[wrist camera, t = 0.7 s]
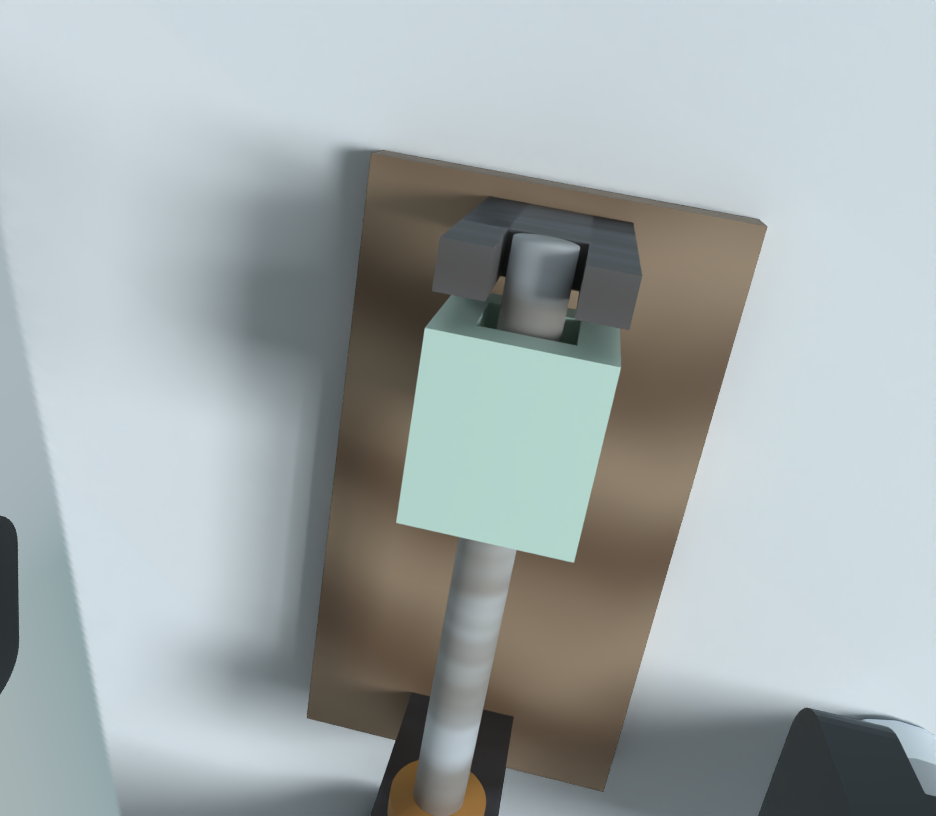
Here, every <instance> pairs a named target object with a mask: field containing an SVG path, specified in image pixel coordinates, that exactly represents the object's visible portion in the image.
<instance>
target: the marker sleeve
mask: <svg viewBox="0 0 936 816" xmlns="http://www.w3.org/2000/svg"><path fill="white" fill-rule="evenodd" d="M501 301H502V295H500V294H495V293H490V294H489V296H488V297H487V299H486V301H485V302H484V301H479V300H474V299H469V298H464V297H459V296H454V295H451V296H450V297H449V298H448V300H447V301H446V302H445V303H444V305H443V306H442V307H441V308H440V310H439V311H438V312H437V313H436V315H435V316H434V317H433V318H432V320H431V321H430V322H429V323H428V325H427V326H426V327H425V330H424V337H423V344H422V351H421V358H420V364H419V371H418V378H417V385H416V391H415V398H414V405H413V412H412V419H411V425H410V432H409V439H408V446H407V453H406V459H405V466H404V473H403V480H402V486H401V493H400V500H399V507H398V514H397V520H396V523H399V524H404V525H408V526H412V527H417V528H421V529H426V530H430V531H435V532H439V533H444V534H448V535H453V536H457V537H461V538H466V539H470V540H475V541H479V542H484V543H488V544H493V545H497V546H501V547H506V548H510V549H515V550H519V551H524V552H528V553H533V554H537V555H542V556H546V557H550V558H555V559H559V560H564V561H568V562H573V563H574V561H575V556H576V552H577V548H578V544H579V540H580V536H581V532H582V527H583V523H584V519H585V515H586V511H587V507H588V503H589V498H590V494H591V490H592V486H593V482H594V478H595V474H596V469H597V465H598V461H599V457H600V453H601V449H602V445H603V440H604V436H605V432H606V428H607V424H608V420H609V416H610V411H611V407H612V403H613V399H614V395H615V391H616V386H617V382H618V378H619V374H620V370H621V350H620V328H615V327H610V326H605V325H600V324H595V323H590V322H585V321H580V320H575V314H576V309H571V308H567V313H566V318H565V322H564V327H563V332H562V337H561V341H560V342H556V341H551V340H546V339H541V338H536V337H531V336H526V335H521V334H516V333H511V332H506V331H501V330H496V328H497V323H498V317H499V312H500V306H501Z"/></svg>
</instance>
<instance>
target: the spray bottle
mask: <svg viewBox="0 0 936 816" xmlns="http://www.w3.org/2000/svg"><path fill="white" fill-rule="evenodd" d="M861 721H866V722H870V723H874V724H878V725H883V726H887V727H889V728H891V729H892V730H893V731H894V732H895V733H896V735H897V737H898V738H899V740H900V742H901V744H902V746H903V749H904V751H905V753H906V755H907V757H908V759H909V761H910V763H911V765H912V767H913V769H914V771H915V774H916V776H917V778H918V780H919V782H920V784H921V786H922V788H923V790H924V792H925V794H928V795H933V796H936V736H934V735H933V734H931V733H930V732H928V731H926V730H925V729H922V728H919V727H916V726H913V725H910V724H906V723H903V722H900V721H896V720H878V719H864V720H861Z"/></svg>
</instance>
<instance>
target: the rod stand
mask: <svg viewBox="0 0 936 816" xmlns="http://www.w3.org/2000/svg"><path fill="white" fill-rule="evenodd" d="M766 230H767V226H766V225H765V224H764V223H763V222H762V221H760V220H759V219H754V218H749V217H743V216H738V215H732V214H727V213H722V212H716V211H711V210H705V209H700V208H694V207H689V206H684V205H678V204H673V203H667V202H662V201H656V200H651V199H645V198H640V197H635V196H629V195H624V194H618V193H613V192H607V191H602V190H597V189H591V188H586V187H580V186H575V185H569V184H564V183H559V182H553V181H548V180H542V179H537V178H531V177H526V176H520V175H515V174H510V173H504V172H499V171H493V170H488V169H482V168H477V167H472V166H466V165H461V164H455V163H450V162H444V161H439V160H434V159H428V158H423V157H417V156H412V155H406V154H401V153H395V152H390V151H385V150H382V151H378V152H374V153H371V158H370V167H369V176H368V184H367V193H366V202H365V211H364V219H363V228H362V237H361V246H360V255H359V263H358V272H357V281H356V290H355V299H354V307H353V316H352V325H351V334H350V342H349V351H348V360H347V369H346V378H345V386H344V395H343V404H342V413H341V422H340V430H339V439H338V448H337V457H336V465H335V474H334V483H333V492H332V501H331V509H330V518H329V527H328V536H327V545H326V553H325V562H324V571H323V580H322V588H321V597H320V606H319V615H318V624H317V632H316V641H315V650H314V659H313V668H312V676H311V685H310V694H309V703H308V711H307V718H309V719H313V720H317V721H321V722H325V723H329V724H333V725H337V726H341V727H345V728H349V729H353V730H357V731H361V732H365V733H369V734H373V735H377V736H381V737H385V738H389V739H393V740H396V741H395V744H394V747H393V750H392V753H391V756H390V759H389V762H388V765H387V768H386V771H385V774H384V777H383V780H382V783H381V786H380V789H379V792H378V795H377V798H376V801H375V804H374V807H373V810H372V813H371V816H498V813H499V807H500V801H501V794H502V788H503V782H504V775H505V769H506V768H510V769H514V770H518V771H522V772H526V773H530V774H534V775H538V776H542V777H546V778H550V779H554V780H558V781H562V782H566V783H570V784H574V785H578V786H582V787H586V788H590V789H594V790H598V791H602V792H604V788H605V785H606V781H607V778H608V774H609V771H610V767H611V764H612V760H613V757H614V754H615V750H616V747H617V743H618V740H619V736H620V733H621V729H622V726H623V723H624V719H625V716H626V712H627V709H628V705H629V702H630V698H631V695H632V692H633V688H634V685H635V681H636V678H637V674H638V671H639V667H640V664H641V661H642V657H643V654H644V650H645V647H646V643H647V640H648V636H649V633H650V630H651V626H652V623H653V619H654V616H655V612H656V609H657V605H658V602H659V598H660V595H661V592H662V588H663V585H664V581H665V578H666V574H667V571H668V567H669V564H670V561H671V557H672V554H673V550H674V547H675V543H676V540H677V536H678V533H679V530H680V526H681V523H682V519H683V516H684V512H685V509H686V505H687V502H688V499H689V495H690V492H691V488H692V485H693V481H694V478H695V474H696V471H697V468H698V464H699V461H700V457H701V454H702V450H703V447H704V443H705V440H706V436H707V433H708V430H709V426H710V423H711V419H712V416H713V412H714V409H715V405H716V402H717V399H718V395H719V392H720V388H721V385H722V381H723V378H724V374H725V371H726V368H727V364H728V361H729V357H730V354H731V350H732V347H733V343H734V340H735V337H736V333H737V330H738V326H739V323H740V319H741V316H742V312H743V309H744V306H745V302H746V299H747V295H748V292H749V288H750V285H751V281H752V278H753V274H754V271H755V268H756V264H757V261H758V257H759V254H760V250H761V247H762V243H763V240H764V237H765V233H766ZM490 293H495V294H500V295H502V301H501V306H500V312H499V317H498V323H497V328H496V330H501V331H506V332H511V333H516V334H521V335H526V336H531V337H536V338H541V339H546V340H551V341H556V342H560V341H561V337H562V332H563V327H564V322H565V318H566V313H567V308H571V309H576V314H575V320H580V321H585V322H590V323H595V324H600V325H605V326H610V327H615V328H620V350H621V370H620V374H619V378H618V382H617V386H616V391H615V395H614V399H613V403H612V407H611V411H610V416H609V420H608V424H607V428H606V432H605V436H604V440H603V445H602V449H601V453H600V457H599V461H598V465H597V469H596V474H595V478H594V482H593V486H592V490H591V494H590V498H589V503H588V507H587V511H586V515H585V519H584V523H583V527H582V532H581V536H580V540H579V544H578V548H577V552H576V556H575V561H574V563H573V562H568V561H564V560H559V559H555V558H550V557H546V556H542V555H537V554H533V553H528V552H524V551H519V550H515V549H510V548H506V547H501V546H497V545H493V544H488V543H484V542H479V541H475V540H470V539H466V538H461V537H457V536H453V535H448V534H444V533H439V532H435V531H430V530H426V529H421V528H417V527H412V526H408V525H404V524H399V523H396V520H397V514H398V507H399V500H400V493H401V486H402V480H403V473H404V466H405V459H406V453H407V446H408V439H409V432H410V425H411V419H412V412H413V405H414V398H415V391H416V385H417V378H418V371H419V364H420V358H421V351H422V344H423V337H424V330H425V327H426V326H427V325H428V323H429V322H430V321H431V320H432V318H433V317H434V316H435V315H436V313H437V312H438V311H439V310H440V308H441V307H442V306H443V305H444V303H445V302H446V301H447V300H448V298H449V297H450V296H451V295H454V296H459V297H464V298H469V299H474V300H479V301H484V302H485V301H486V299H487V297H488V296H489V294H490Z"/></svg>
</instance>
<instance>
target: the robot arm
mask: <svg viewBox="0 0 936 816" xmlns="http://www.w3.org/2000/svg"><path fill="white" fill-rule="evenodd" d="M18 606H19V605H18V542H17V533H16V529H15V527H14V525H13V523H12V522H11V521H10V520H9V519H7V518H6V517H3V516H0V694H1V692H2V691H3V689H4V687H5V686H6V684H7V682H8V680H9V678H10V676H11V673H12V671H13V668H14V666H15V662H16V658H17V655H18V648H19V611H18V610H19V607H18ZM758 816H936V796H933V795H928V794H925V792H924V790H923V788H922V786H921V784H920V782H919V780H918V778H917V776H916V774H915V771H914V769H913V767H912V765H911V763H910V761H909V759H908V757H907V755H906V753H905V751H904V749H903V746H902V744H901V742H900V740H899V738H898V737H897V735H896V733H895V732H894V731H893V730H892V729H891V728H889V727H887V726H883V725H878V724H874V723H870V722H866V721H861V720H857V719H853V718H849V717H844V716H840V715H836V714H832V713H827V712H823V711H819V710H815V709H810V708H804V709H802V710H801V711H800V712H799V713H798V714H797V716H796V717H795V719H794V721H793V723H792V725H791V728H790V730H789V733H788V736H787V738H786V741H785V744H784V747H783V749H782V752H781V755H780V758H779V760H778V763H777V766H776V769H775V771H774V774H773V777H772V780H771V782H770V785H769V788H768V790H767V793H766V796H765V799H764V801H763V804H762V807H761V810H760V812H759V815H758Z"/></svg>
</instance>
